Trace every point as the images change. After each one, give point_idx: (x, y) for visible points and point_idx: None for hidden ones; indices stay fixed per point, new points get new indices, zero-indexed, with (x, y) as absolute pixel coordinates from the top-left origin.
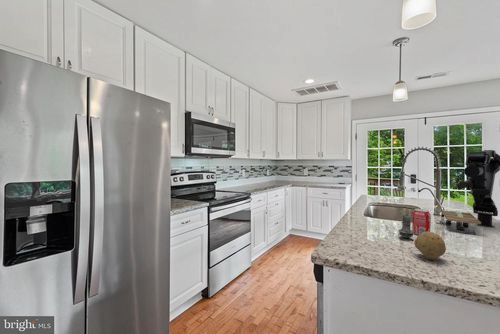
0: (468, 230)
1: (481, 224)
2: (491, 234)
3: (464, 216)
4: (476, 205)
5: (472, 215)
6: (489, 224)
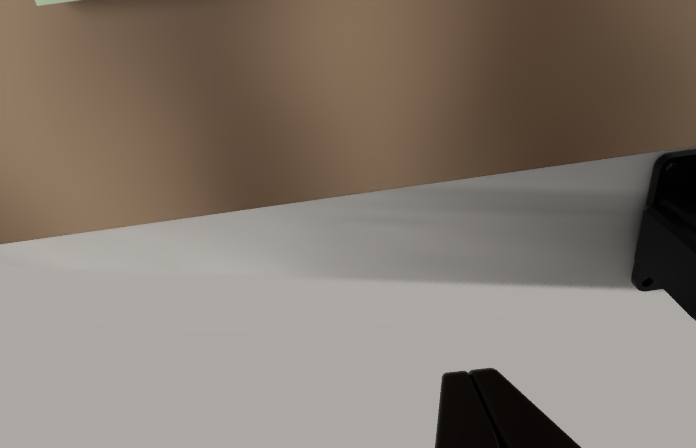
0: None
1: (675, 194)
2: (242, 248)
3: (216, 26)
4: (441, 405)
5: (475, 169)
6: (644, 267)
